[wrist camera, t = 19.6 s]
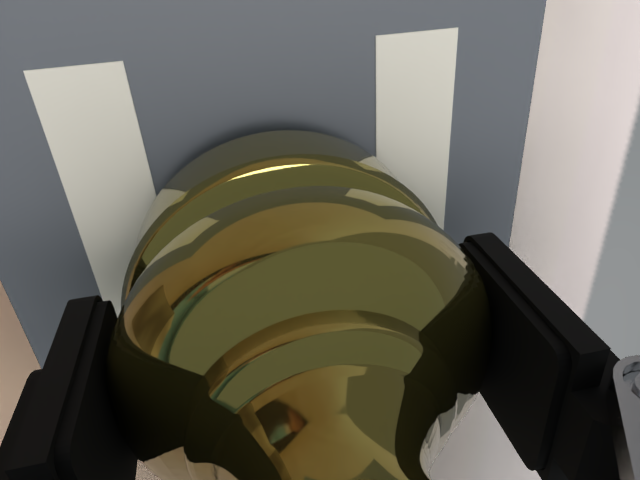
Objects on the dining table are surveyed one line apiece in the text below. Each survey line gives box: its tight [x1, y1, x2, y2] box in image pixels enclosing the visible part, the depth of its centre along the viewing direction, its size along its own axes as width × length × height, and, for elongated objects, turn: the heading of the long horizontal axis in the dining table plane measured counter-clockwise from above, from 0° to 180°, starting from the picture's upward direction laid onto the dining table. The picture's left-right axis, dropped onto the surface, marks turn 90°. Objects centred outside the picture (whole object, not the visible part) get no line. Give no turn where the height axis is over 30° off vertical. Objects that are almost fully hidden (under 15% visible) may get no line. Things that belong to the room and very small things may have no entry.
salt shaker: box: [105, 130, 493, 480], centre depth 9 cm, size 7×8×10 cm
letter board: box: [0, 0, 546, 369], centre depth 14 cm, size 14×14×1 cm
